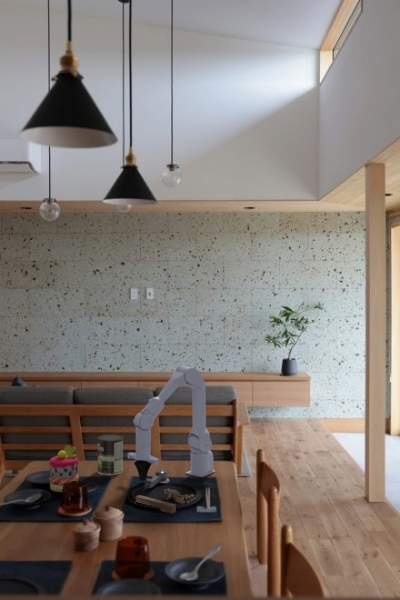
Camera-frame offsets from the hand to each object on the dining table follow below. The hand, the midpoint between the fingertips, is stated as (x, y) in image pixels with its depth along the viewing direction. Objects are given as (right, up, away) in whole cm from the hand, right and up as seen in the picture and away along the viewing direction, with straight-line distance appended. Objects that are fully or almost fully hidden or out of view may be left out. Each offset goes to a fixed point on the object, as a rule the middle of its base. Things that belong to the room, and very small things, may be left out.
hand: (143, 479), depth 253 cm
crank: (+5, 0, -3) cm, 6 cm away
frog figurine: (+14, -3, -19) cm, 24 cm away
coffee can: (-14, -1, +13) cm, 20 cm away
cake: (-29, -1, -7) cm, 30 cm away
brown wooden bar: (+7, -2, -28) cm, 28 cm away
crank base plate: (+7, -1, +2) cm, 7 cm away
